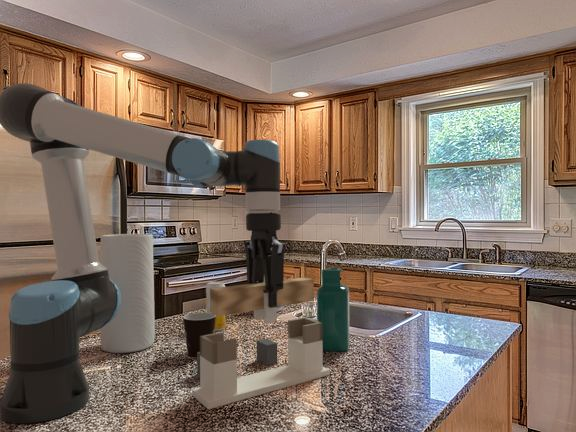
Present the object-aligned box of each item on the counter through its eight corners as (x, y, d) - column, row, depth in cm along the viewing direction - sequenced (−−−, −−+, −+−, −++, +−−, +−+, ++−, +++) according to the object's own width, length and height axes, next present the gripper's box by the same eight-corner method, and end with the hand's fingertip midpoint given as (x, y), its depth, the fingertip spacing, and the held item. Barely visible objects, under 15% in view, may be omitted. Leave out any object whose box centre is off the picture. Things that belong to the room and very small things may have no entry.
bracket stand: (208, 409, 81) (207, 346, 81) (192, 395, 88) (191, 336, 88) (329, 374, 98) (329, 322, 98) (308, 364, 105) (308, 315, 105)
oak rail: (218, 316, 85) (217, 291, 85) (210, 313, 88) (210, 288, 88) (313, 300, 98) (313, 279, 98) (304, 298, 101) (304, 277, 101)
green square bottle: (320, 341, 124) (319, 265, 124) (349, 343, 123) (349, 266, 123) (315, 352, 115) (315, 269, 115) (347, 354, 113) (346, 270, 113)
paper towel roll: (95, 356, 113) (94, 236, 113) (106, 341, 127) (105, 234, 127) (152, 352, 116) (151, 235, 116) (157, 337, 130) (156, 233, 130)
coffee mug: (209, 360, 109) (208, 320, 109) (177, 358, 111) (177, 319, 111) (224, 346, 121) (224, 310, 121) (196, 344, 122) (195, 309, 122)
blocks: (206, 380, 95) (205, 358, 95) (197, 373, 100) (197, 352, 100) (277, 363, 106) (277, 343, 106) (266, 357, 110) (266, 338, 110)
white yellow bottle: (229, 328, 140) (229, 282, 140) (216, 332, 135) (216, 285, 135) (215, 326, 143) (215, 281, 143) (202, 330, 138) (202, 283, 138)
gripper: (300, 211, 88) (302, 325, 88) (258, 212, 102) (260, 311, 102) (269, 211, 84) (271, 331, 84) (230, 213, 98) (231, 315, 98)
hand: (265, 320), depth 93 cm, fingers closed on oak rail, 4 cm apart
